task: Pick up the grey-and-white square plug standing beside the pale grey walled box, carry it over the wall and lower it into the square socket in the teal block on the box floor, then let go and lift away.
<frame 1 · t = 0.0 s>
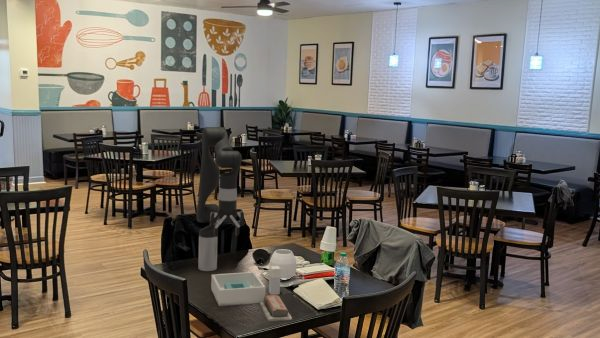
hand: (226, 236, 232), 29 cm above the table, tool pointing down, fingers open, 8 cm apart
plug: (274, 293, 250), on the table
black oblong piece: (263, 262, 294), on the table
white round vase: (282, 278, 270), on the table
walled box: (237, 295, 244), on the table
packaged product: (275, 313, 229), on the table
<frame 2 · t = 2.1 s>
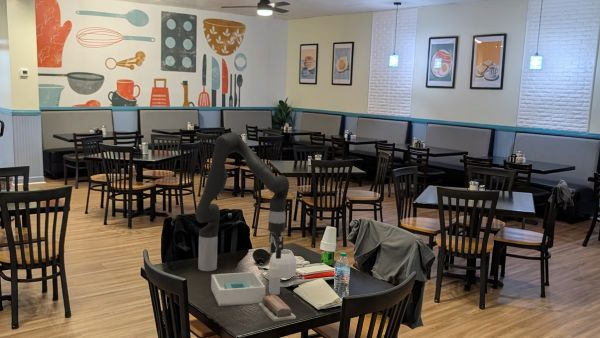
hand: (275, 255, 247), 18 cm above the table, tool pointing down, fingers open, 8 cm apart
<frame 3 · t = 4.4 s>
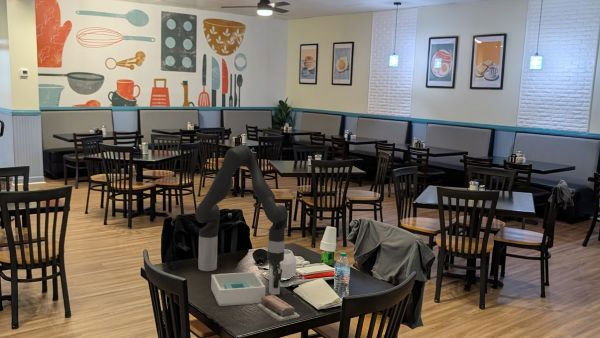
hand: (274, 286, 249), 3 cm above the table, tool pointing down, fingers closed on plug, 4 cm apart
plug: (274, 292, 250), on the table, touching gripper
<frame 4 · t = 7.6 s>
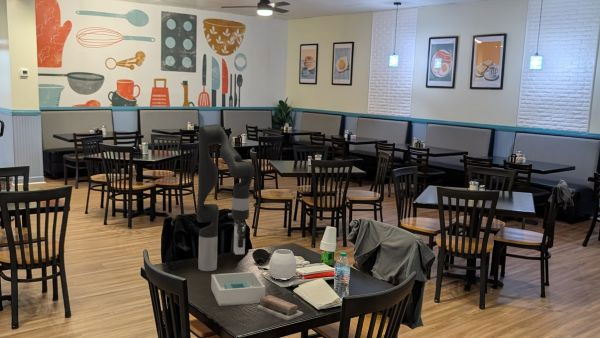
hand: (239, 245, 241), 23 cm above the table, tool pointing down, fingers closed on plug, 4 cm apart
plug: (239, 252, 242), point 20 cm above the table, touching gripper
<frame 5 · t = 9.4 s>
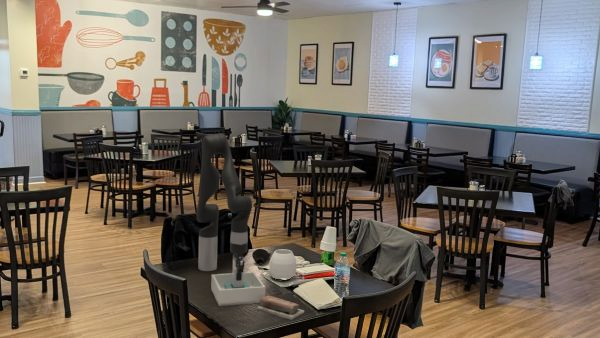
hand: (237, 278, 243), 8 cm above the table, tool pointing down, fingers closed on plug, 4 cm apart
plug: (237, 285, 243), point 5 cm above the table, touching gripper
when the fingers open (6 cm above the table, at t = 10.9 s): plug drops 1 cm, resting on walled box.
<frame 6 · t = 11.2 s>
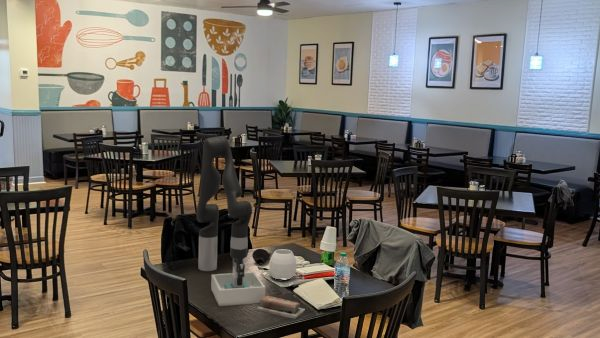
hand: (237, 282, 243), 6 cm above the table, tool pointing down, fingers open, 6 cm apart
plug: (237, 293, 244), point 1 cm above the table, touching walled box
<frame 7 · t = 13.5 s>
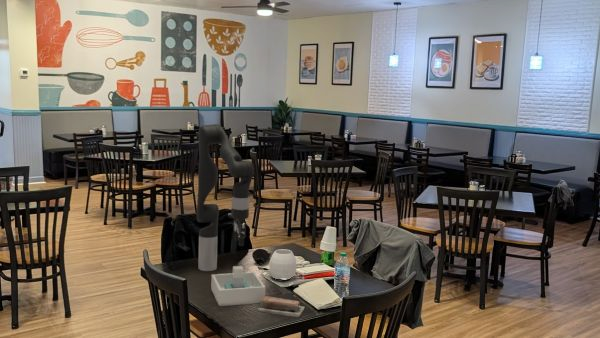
hand: (239, 243, 241), 24 cm above the table, tool pointing down, fingers open, 8 cm apart
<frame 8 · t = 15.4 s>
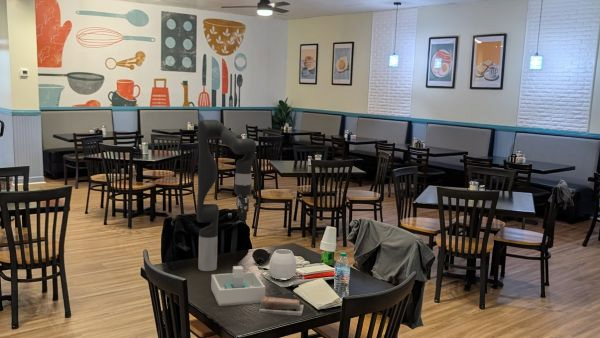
hand: (241, 218, 249), 33 cm above the table, tool pointing down, fingers open, 8 cm apart
at the end: plug 0.0 cm off-centre on the walled box, point 1.0 cm above the walled box's base; plug tilted 0°; the gripper is holding nothing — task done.
